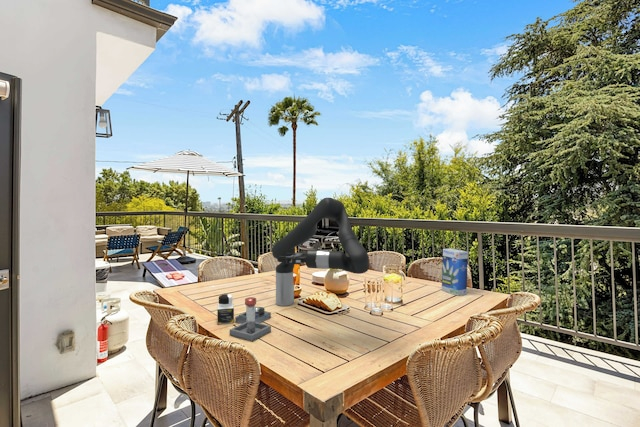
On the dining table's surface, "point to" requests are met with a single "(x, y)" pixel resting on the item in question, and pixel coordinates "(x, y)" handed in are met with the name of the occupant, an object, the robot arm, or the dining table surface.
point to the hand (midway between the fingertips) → (281, 257)
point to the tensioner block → (259, 316)
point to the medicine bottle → (225, 309)
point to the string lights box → (454, 271)
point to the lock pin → (250, 314)
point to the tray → (241, 333)
